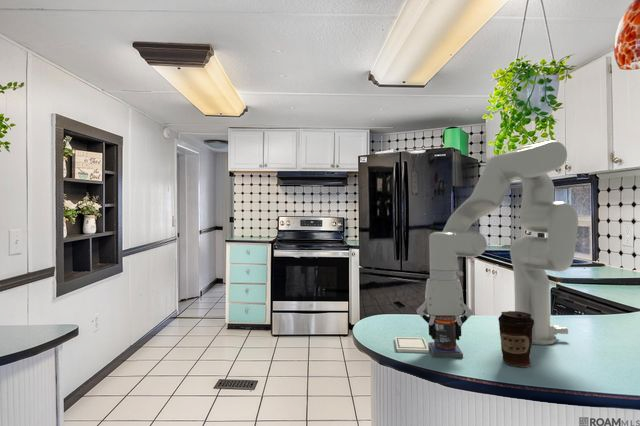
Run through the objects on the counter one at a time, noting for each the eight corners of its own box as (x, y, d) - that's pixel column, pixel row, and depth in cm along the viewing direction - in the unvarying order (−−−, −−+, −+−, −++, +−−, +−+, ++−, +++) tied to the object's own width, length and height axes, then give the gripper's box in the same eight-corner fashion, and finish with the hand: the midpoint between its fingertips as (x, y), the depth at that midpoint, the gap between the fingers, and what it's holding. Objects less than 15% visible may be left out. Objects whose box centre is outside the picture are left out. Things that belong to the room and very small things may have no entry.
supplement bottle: (453, 343, 107) (452, 304, 106) (458, 350, 101) (458, 310, 101) (432, 342, 107) (431, 304, 107) (436, 350, 101) (435, 309, 101)
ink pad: (456, 347, 107) (456, 342, 107) (463, 358, 99) (462, 352, 99) (428, 346, 108) (428, 341, 108) (432, 357, 100) (432, 351, 100)
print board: (424, 340, 113) (424, 337, 113) (429, 352, 104) (429, 349, 104) (394, 339, 115) (394, 336, 115) (396, 351, 105) (396, 348, 105)
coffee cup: (534, 373, 90) (533, 320, 90) (497, 365, 94) (496, 315, 94) (535, 360, 97) (534, 311, 97) (500, 354, 101) (500, 307, 101)
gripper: (471, 273, 106) (472, 334, 106) (411, 272, 109) (412, 333, 109) (479, 277, 99) (480, 344, 99) (414, 277, 101) (415, 342, 101)
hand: (444, 337), depth 104 cm, fingers closed on supplement bottle, 6 cm apart
